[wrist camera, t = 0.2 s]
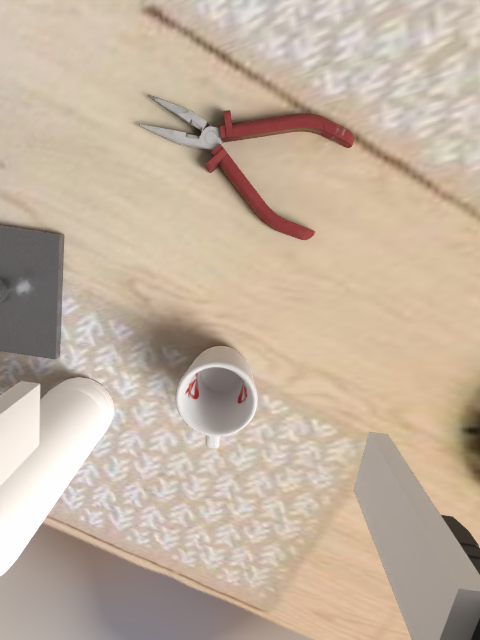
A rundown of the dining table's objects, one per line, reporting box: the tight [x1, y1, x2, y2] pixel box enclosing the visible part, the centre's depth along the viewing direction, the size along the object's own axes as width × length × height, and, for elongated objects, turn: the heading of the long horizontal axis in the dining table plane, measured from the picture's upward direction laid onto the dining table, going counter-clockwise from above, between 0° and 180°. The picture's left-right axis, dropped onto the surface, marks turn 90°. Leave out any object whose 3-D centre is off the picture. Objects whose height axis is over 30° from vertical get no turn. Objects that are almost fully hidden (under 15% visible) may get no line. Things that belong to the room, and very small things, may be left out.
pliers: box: [139, 95, 354, 240], centre depth 37 cm, size 12×20×3 cm, turn 68°
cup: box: [176, 346, 258, 449], centre depth 41 cm, size 11×8×8 cm
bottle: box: [0, 377, 114, 576], centre depth 31 cm, size 8×8×30 cm
